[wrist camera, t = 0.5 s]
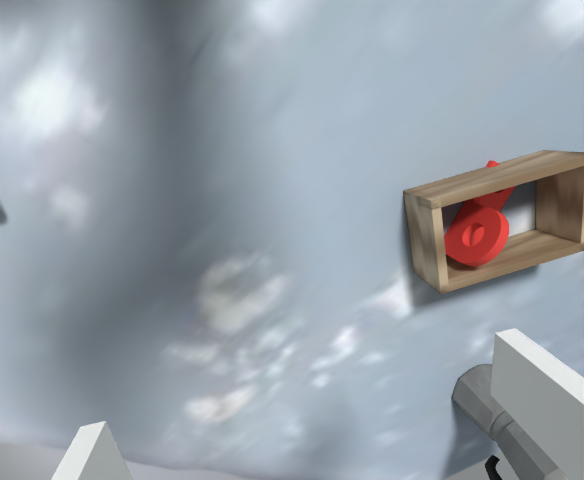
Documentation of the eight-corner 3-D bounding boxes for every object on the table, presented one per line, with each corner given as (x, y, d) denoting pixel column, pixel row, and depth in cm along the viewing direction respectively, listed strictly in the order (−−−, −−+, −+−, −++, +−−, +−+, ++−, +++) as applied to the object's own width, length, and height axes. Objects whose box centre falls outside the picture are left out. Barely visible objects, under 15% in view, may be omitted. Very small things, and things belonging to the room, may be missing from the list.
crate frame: (403, 190, 38) (430, 200, 32) (544, 150, 39) (594, 153, 33) (414, 272, 42) (440, 294, 36) (542, 233, 43) (588, 249, 37)
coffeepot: (486, 342, 47) (621, 460, 30) (527, 366, 50) (673, 486, 33) (422, 418, 50) (513, 563, 33) (464, 436, 53) (568, 579, 36)
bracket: (462, 259, 43) (508, 286, 35) (435, 247, 42) (476, 272, 34) (514, 175, 40) (576, 185, 32) (486, 160, 39) (544, 166, 31)
